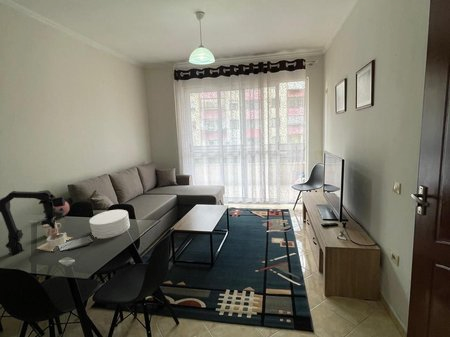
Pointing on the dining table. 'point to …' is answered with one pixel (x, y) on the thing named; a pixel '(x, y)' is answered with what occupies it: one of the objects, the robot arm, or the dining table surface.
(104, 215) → the plate stack
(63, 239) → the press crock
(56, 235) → the plunger
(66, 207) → the balloon
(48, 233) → the teacup with lid
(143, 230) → the dining table surface
